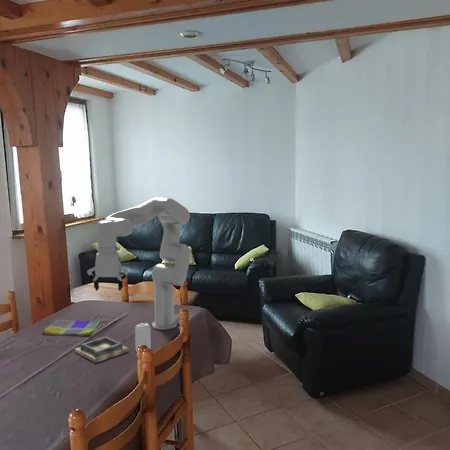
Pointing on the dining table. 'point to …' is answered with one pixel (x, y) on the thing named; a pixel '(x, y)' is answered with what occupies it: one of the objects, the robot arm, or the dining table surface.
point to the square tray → (101, 349)
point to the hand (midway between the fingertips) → (108, 289)
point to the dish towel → (72, 328)
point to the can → (142, 334)
